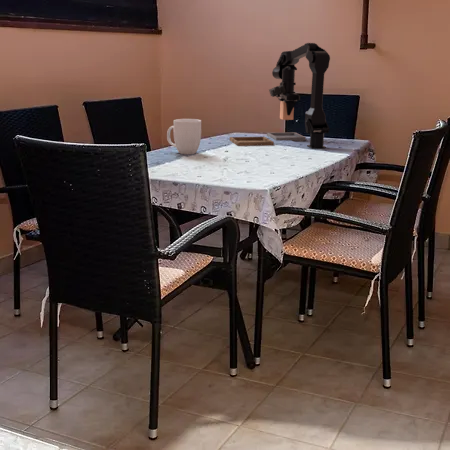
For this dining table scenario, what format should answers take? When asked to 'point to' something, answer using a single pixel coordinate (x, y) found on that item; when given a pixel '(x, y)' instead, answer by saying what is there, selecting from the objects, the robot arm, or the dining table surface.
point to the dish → (251, 141)
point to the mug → (186, 135)
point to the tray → (287, 136)
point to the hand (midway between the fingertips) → (286, 114)
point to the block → (285, 112)
